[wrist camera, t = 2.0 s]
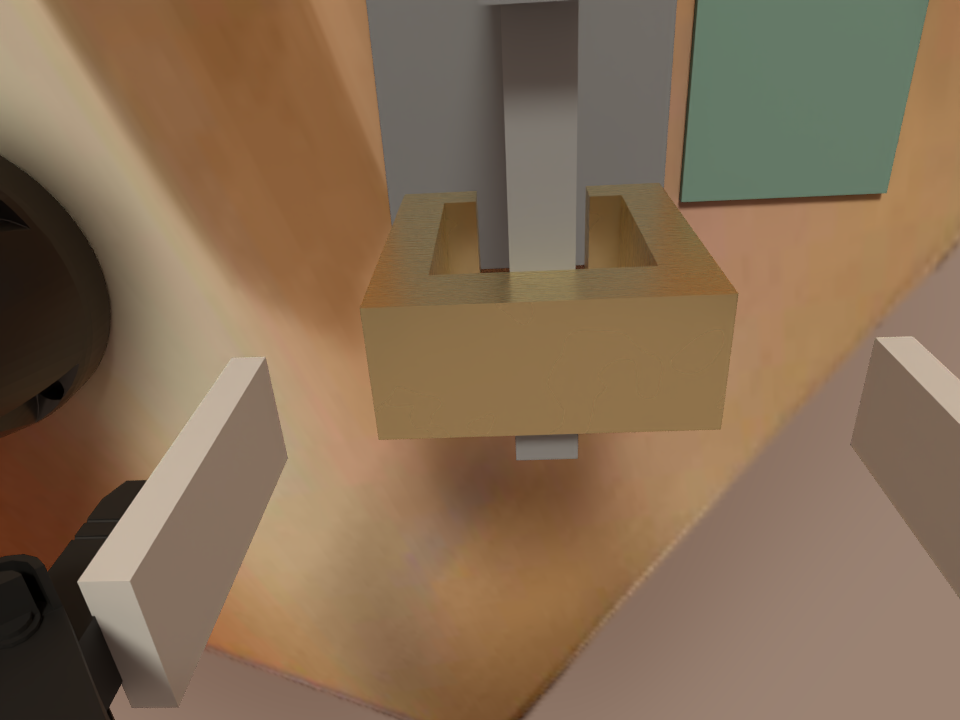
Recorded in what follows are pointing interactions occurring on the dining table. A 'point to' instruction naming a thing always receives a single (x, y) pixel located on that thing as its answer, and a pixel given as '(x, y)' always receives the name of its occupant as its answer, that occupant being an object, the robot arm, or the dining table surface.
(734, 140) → the mat
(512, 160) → the stand
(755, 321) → the dining table surface
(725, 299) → the c link
